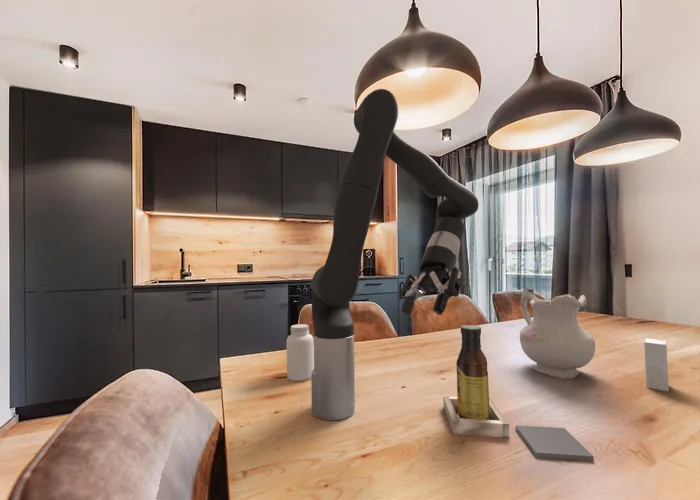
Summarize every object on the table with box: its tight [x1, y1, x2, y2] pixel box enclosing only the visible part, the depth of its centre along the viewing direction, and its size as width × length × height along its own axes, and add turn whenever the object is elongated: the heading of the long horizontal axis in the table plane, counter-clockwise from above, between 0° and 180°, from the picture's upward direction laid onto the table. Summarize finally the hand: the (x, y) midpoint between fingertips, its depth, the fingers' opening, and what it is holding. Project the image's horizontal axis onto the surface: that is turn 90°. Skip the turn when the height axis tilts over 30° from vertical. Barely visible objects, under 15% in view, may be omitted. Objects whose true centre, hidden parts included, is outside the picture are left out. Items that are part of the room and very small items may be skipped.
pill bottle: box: [286, 323, 314, 382], centre depth 93 cm, size 8×8×15 cm
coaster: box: [515, 424, 595, 462], centre depth 57 cm, size 9×9×1 cm
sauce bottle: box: [455, 324, 490, 420], centre depth 66 cm, size 6×6×20 cm
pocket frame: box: [442, 395, 510, 439], centre depth 66 cm, size 10×11×2 cm
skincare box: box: [643, 338, 670, 393], centre depth 83 cm, size 6×4×12 cm
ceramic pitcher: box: [519, 287, 596, 380], centre depth 97 cm, size 22×20×25 cm
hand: (420, 313), depth 66 cm, fingers open, 8 cm apart
